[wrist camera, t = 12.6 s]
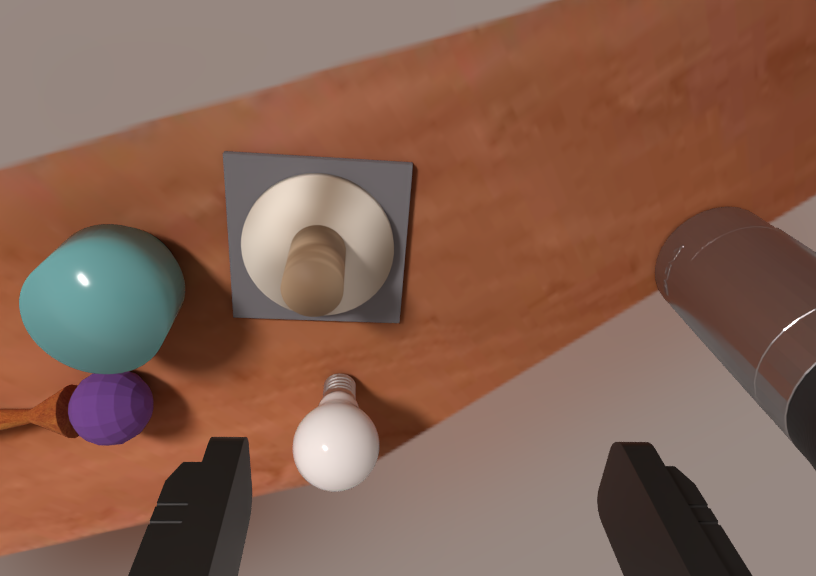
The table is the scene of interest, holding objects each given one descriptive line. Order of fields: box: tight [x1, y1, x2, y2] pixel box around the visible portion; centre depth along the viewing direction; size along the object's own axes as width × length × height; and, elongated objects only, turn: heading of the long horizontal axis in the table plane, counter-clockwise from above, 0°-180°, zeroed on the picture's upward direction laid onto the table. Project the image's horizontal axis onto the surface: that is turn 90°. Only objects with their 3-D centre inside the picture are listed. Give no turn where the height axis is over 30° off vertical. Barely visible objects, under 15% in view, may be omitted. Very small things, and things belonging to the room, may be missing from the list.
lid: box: [241, 173, 394, 317], centre depth 42 cm, size 11×11×7 cm
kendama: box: [0, 371, 153, 445], centre depth 49 cm, size 6×6×20 cm
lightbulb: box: [293, 374, 379, 492], centre depth 47 cm, size 6×6×11 cm
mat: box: [223, 151, 413, 323], centre depth 45 cm, size 13×13×1 cm
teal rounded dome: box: [19, 224, 185, 374], centre depth 43 cm, size 9×9×7 cm
